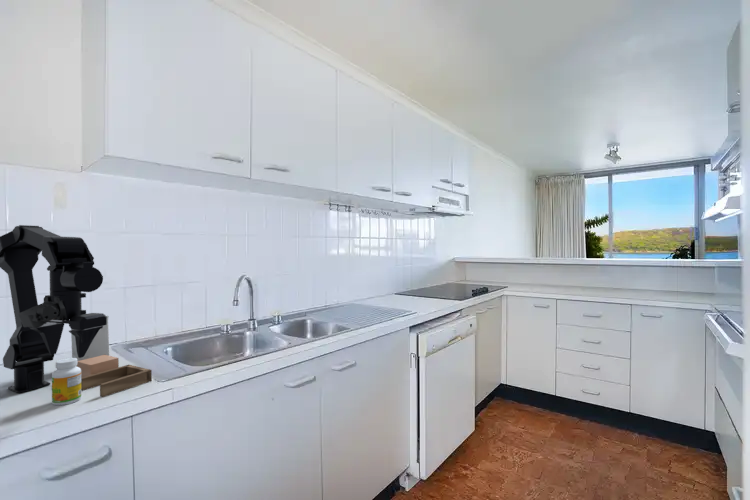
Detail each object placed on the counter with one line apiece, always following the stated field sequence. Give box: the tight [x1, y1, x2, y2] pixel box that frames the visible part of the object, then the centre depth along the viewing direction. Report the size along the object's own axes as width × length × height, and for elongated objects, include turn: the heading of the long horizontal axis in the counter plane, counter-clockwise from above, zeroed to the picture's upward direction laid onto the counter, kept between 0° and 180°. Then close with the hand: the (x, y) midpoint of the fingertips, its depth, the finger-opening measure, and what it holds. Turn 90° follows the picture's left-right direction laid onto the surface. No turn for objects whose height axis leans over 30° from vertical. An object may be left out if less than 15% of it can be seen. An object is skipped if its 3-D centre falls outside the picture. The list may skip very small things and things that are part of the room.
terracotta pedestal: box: [77, 355, 120, 378], centre depth 103 cm, size 7×7×5 cm
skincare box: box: [70, 313, 110, 367], centre depth 112 cm, size 8×7×16 cm
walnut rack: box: [81, 364, 153, 398], centre depth 98 cm, size 10×12×3 cm
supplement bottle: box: [51, 357, 82, 406], centre depth 88 cm, size 5×5×10 cm
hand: (66, 355), depth 88 cm, fingers open, 9 cm apart
